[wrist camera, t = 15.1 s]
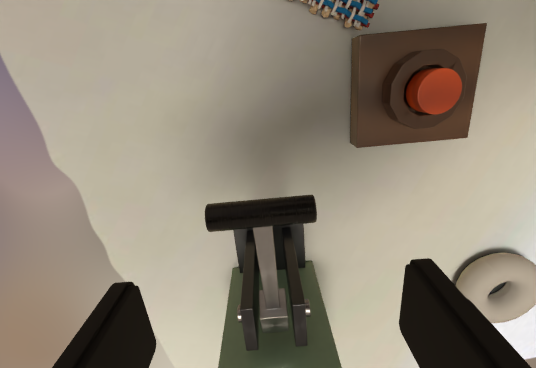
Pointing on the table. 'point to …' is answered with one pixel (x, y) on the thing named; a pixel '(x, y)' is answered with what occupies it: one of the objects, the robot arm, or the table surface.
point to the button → (434, 90)
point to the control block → (398, 77)
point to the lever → (264, 243)
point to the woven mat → (338, 10)
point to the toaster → (280, 343)
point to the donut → (492, 274)
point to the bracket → (288, 258)
